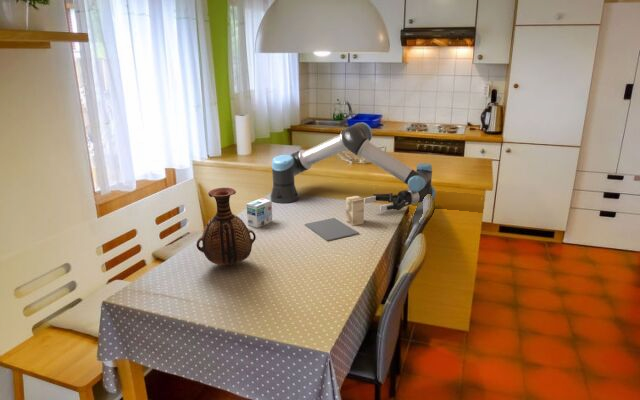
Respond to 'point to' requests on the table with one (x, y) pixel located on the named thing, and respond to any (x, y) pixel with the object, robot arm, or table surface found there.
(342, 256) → the table surface
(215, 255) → the vase
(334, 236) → the mat
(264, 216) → the light bulb box
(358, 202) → the beech block
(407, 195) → the robot arm
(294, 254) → the table surface
